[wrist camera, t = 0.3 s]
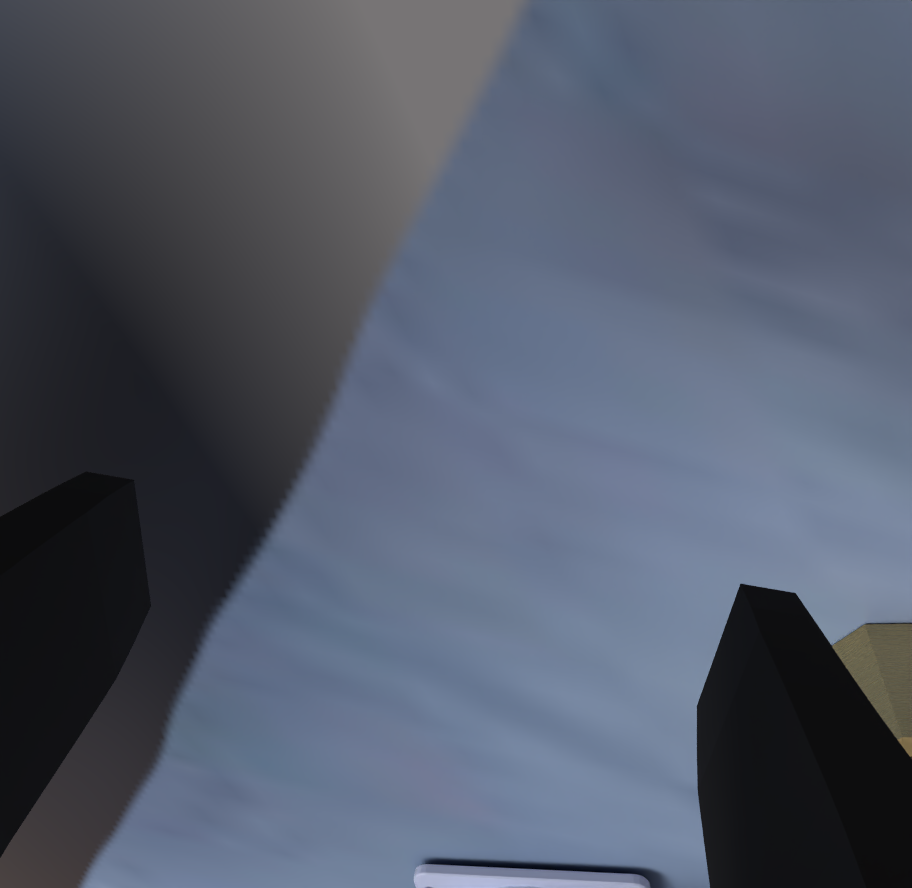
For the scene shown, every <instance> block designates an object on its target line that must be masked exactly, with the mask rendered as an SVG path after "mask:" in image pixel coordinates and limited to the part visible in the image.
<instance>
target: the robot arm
mask: <svg viewBox="0 0 912 888" xmlns="http://www.w3.org/2000/svg"><path fill="white" fill-rule="evenodd" d="M150 607H151V602H150V595H149V588H148V581H147V573H146V566H145V558H144V551H143V544H142V536H141V528H140V522H139V514H138V506H137V499H136V492H135V484H134V480H132V479H126V478H120V477H114V476H109V475H103V474H97V473H91V472H84V473H82V474H80V475H78V476H76V477H74V478H72V479H70V480H68V481H66V482H64V483H62V484H60V485H58V486H56V487H54V488H52V489H50V490H48V491H47V492H45V493H43V494H41V495H39V496H37V497H35V498H34V499H32V500H30V501H28V502H26V503H24V504H23V505H21V506H19V507H17V508H15V509H14V510H12V511H10V512H8V513H6V514H4V515H3V516H1V517H0V857H1V856H2V854H3V852H4V850H5V849H6V847H7V846H8V844H9V842H10V841H11V839H12V838H13V836H14V835H15V833H16V832H17V830H18V829H19V827H20V826H21V824H22V823H23V821H24V819H25V818H26V816H27V815H28V814H29V812H30V811H31V809H32V807H33V806H34V804H35V803H36V801H37V800H38V798H39V797H40V795H41V794H42V792H43V790H44V789H45V788H46V786H47V785H48V783H49V782H50V780H51V779H52V777H53V776H54V774H55V772H56V771H57V769H58V768H59V766H60V765H61V763H62V761H63V760H64V759H65V757H66V756H67V754H68V753H69V751H70V750H71V748H72V746H73V745H74V744H75V742H76V740H77V739H78V737H79V736H80V734H81V733H82V731H83V730H84V728H85V727H86V725H87V724H88V722H89V720H90V719H91V717H92V716H93V714H94V712H95V711H96V710H97V708H98V706H99V705H100V703H101V702H102V700H103V699H104V697H105V696H106V694H107V692H108V691H109V689H110V688H111V686H112V684H113V683H114V681H115V680H116V678H117V676H118V674H119V672H120V670H121V668H122V666H123V664H124V662H125V660H126V658H127V656H128V654H129V652H130V650H131V648H132V646H133V644H134V642H135V639H136V637H137V635H138V633H139V631H140V628H141V626H142V624H143V622H144V620H145V618H146V616H147V613H148V611H149V609H150ZM697 775H698V796H699V804H700V813H701V820H702V828H703V836H704V844H705V852H706V859H707V867H708V874H709V882H710V888H912V759H911V757H910V756H909V755H908V753H907V752H906V751H905V749H904V748H903V746H902V745H901V744H900V742H899V741H898V740H897V738H896V737H895V736H894V734H893V733H892V732H891V730H890V729H889V727H888V726H887V725H886V723H885V722H884V721H883V719H882V718H881V717H880V715H879V714H878V712H877V711H876V710H875V708H874V707H873V705H872V704H871V702H870V701H869V700H868V698H867V697H866V695H865V694H864V693H863V691H862V690H861V688H860V687H859V685H858V684H857V682H856V681H855V679H854V678H853V677H852V675H851V674H850V672H849V671H848V669H847V668H846V666H845V665H844V664H843V662H842V661H841V659H840V658H839V656H838V655H837V653H836V652H835V650H834V649H833V647H832V646H831V644H830V643H829V641H828V640H827V638H826V637H825V636H824V634H823V633H822V631H821V630H820V628H819V627H818V625H817V624H816V622H815V621H814V619H813V618H812V616H811V615H810V614H809V612H808V611H807V609H806V608H805V606H804V605H803V603H802V602H801V600H800V599H799V598H798V596H797V595H796V593H791V592H786V591H780V590H774V589H768V588H762V587H756V586H751V585H745V584H740V587H739V590H738V592H737V595H736V598H735V601H734V604H733V606H732V609H731V612H730V615H729V618H728V620H727V623H726V626H725V629H724V632H723V634H722V637H721V640H720V643H719V646H718V649H717V651H716V654H715V657H714V660H713V663H712V665H711V668H710V671H709V674H708V677H707V679H706V682H705V685H704V688H703V691H702V693H701V696H700V699H699V702H698V705H697ZM414 882H415V886H416V888H650V883H649V881H648V880H647V879H646V878H645V877H643V876H641V875H637V874H624V873H603V872H582V871H561V870H540V869H520V868H499V867H478V866H457V865H436V864H423V865H420V866H418V867H417V868H416V870H415V875H414Z"/></svg>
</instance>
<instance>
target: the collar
mask: <svg viewBox="0 0 912 888" xmlns="http://www.w3.org/2000/svg"><path fill="white" fill-rule="evenodd" d="M832 647H833V649H834V650H835V652H836V653H837V655H838V656H839V658H840V659H841V661H842V662H843V664H844V665H845V666H846V668H847V669H848V671H849V672H850V674H851V675H852V677H853V678H854V679H855V681H856V682H857V684H858V685H859V687H860V688H861V690H862V691H863V693H864V694H865V695H866V697H867V698H868V700H869V701H870V702H871V704H872V705H873V707H874V708H875V710H876V711H877V712H878V714H879V715H880V717H881V718H882V719H883V721H884V722H885V723H886V725H887V726H888V727H889V729H890V730H891V732H892V733H893V734H894V736H895V737H896V738H897V740H898V741H899V742H900V744H901V745H902V746H903V748H904V749H905V751H906V752H907V753H908V755H909V756H910V757H911V759H912V624H865V625H863V626H862V627H860V628H859V629H857V630H856V631H854V632H853V633H851V634H850V635H848V636H846V637H845V638H843V639H842V640H840V641H839V642H837V643H836V644H834V645H833V646H832Z"/></svg>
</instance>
